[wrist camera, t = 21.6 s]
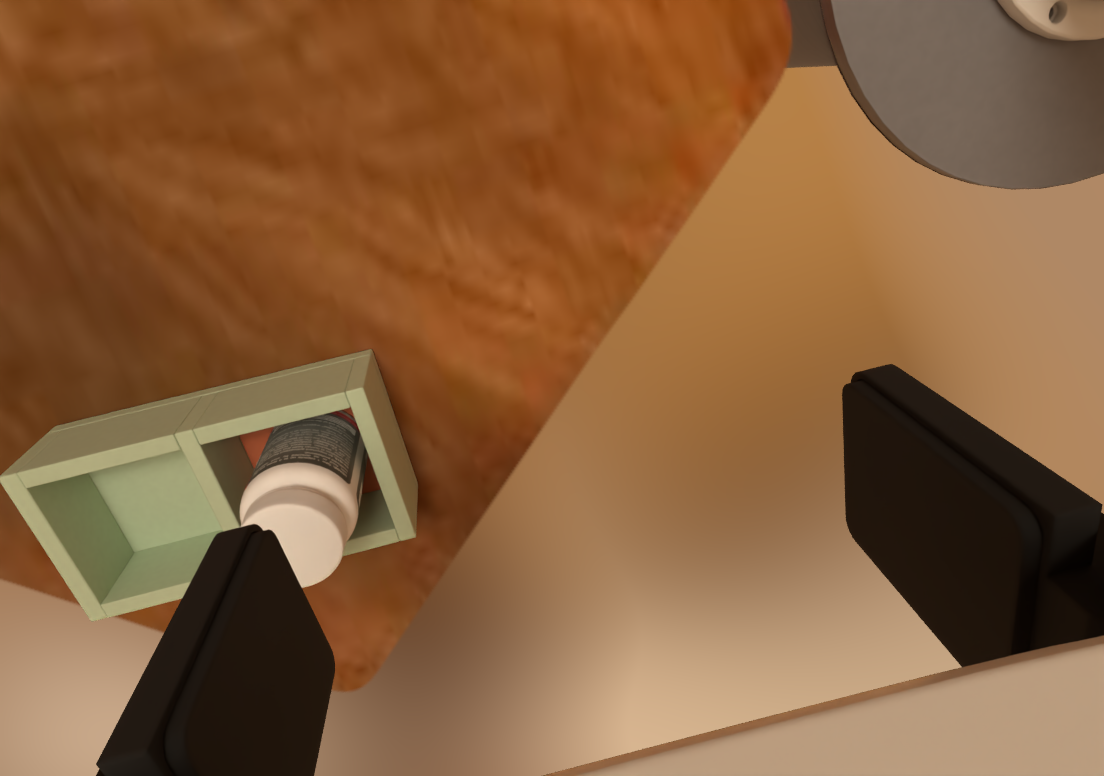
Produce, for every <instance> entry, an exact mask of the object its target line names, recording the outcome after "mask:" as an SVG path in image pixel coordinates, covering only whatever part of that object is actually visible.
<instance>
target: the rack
mask: <svg viewBox="0 0 1104 776" xmlns="http://www.w3.org/2000/svg"><path fill="white" fill-rule="evenodd" d="M339 410H342V411H344V412H346V413H347V414H349V415H350V416H351V417H353V418H354V419H355V420H356V423H357V426H358V428H359V431H360V434H361V437H362V439H363V442H364V445H365V447H366V450H367V453H368V460H367V465H366V470H365V476H364V482H363V488H362V495H361V500H360V506H359V515H358V519H357V523H356V526H355V529H354V531H353V533H352V535H351V536H350V538H349V539H348V540H347V541H346V545H345V547H344V551H343V555H342V556H345V555H349V554H353V553H357V552H361V551H365V550H368V549H372V548H376V547H380V546H384V545H388V544H391V543H395V542H399V540H400V541H403V540H407V539H411V538H415V537H416V525H417V501H418V482H417V479H416V476H415V473H414V470H413V468H412V465H411V462H410V459H409V456H408V453H407V450H406V447H405V444H404V441H403V438H402V435H401V432H400V429H399V426H398V423H397V420H396V417H395V415H394V412H393V409H392V406H391V403H390V400H389V397H388V394H387V391H386V388H385V385H384V382H383V379H382V376H381V373H380V370H379V367H378V364H377V362H376V359H375V356H374V353H373V350H372V349H369V350H365V351H361V352H357V353H353V354H349V355H345V356H341V357H336V358H332V359H328V360H324V361H320V362H316V363H312V364H308V365H304V366H300V367H295V368H291V369H287V370H283V371H279V372H275V373H271V374H267V375H263V376H259V377H255V378H250V379H246V380H242V381H238V382H234V383H230V384H226V385H222V386H218V387H214V388H210V389H205V390H201V391H197V392H193V393H189V394H185V395H181V396H177V397H173V398H169V399H164V400H160V401H156V402H152V403H148V404H144V405H140V406H136V407H132V408H128V409H124V410H119V411H115V412H111V413H107V414H103V415H99V416H95V417H91V418H87V419H83V420H79V421H74V422H70V423H66V424H62V425H58V426H55V427H54V428H53V429H52V430H50V431H49V432H48V434H46V435H45V436H44V437H43V438H41V439H40V440H39V441H38V442H37V443H36V444H35V445H34V446H33V447H31V448H30V449H29V450H28V451H27V452H26V453H25V454H24V455H23V456H21V457H20V458H19V459H18V460H17V461H16V462H15V463H14V464H13V465H11V466H10V467H9V468H8V469H7V470H6V471H5V472H4V473H3V474H2V475H0V482H1V484H2V486H3V487H4V489H5V490H6V492H7V493H8V495H9V496H10V498H11V499H12V501H13V502H14V504H15V505H16V507H17V509H18V510H19V512H20V513H21V515H22V516H23V518H24V519H25V521H26V522H27V524H28V525H29V527H30V528H31V530H32V532H33V533H34V535H35V536H36V538H37V539H38V541H39V542H40V544H41V545H42V547H43V548H44V550H45V551H46V553H47V555H48V556H49V558H50V559H51V561H52V562H53V564H54V565H55V567H56V568H57V570H58V571H59V573H60V574H61V576H62V578H63V579H64V581H65V582H66V584H67V585H68V587H69V588H70V590H71V591H72V593H73V594H74V596H75V597H76V599H77V601H78V602H79V604H80V605H81V607H82V608H83V610H84V611H85V613H86V614H87V616H88V617H89V619H90V620H91V621H97V620H100V619H104V618H107V617H113V616H117V615H120V614H124V613H128V612H132V611H136V610H140V609H143V608H147V607H151V606H155V605H159V604H163V603H166V602H170V601H174V600H178V599H182V598H183V596H184V594H185V592H186V590H187V588H188V586H189V584H190V583H191V581H192V579H193V577H194V575H195V573H196V571H197V569H198V567H199V565H200V563H201V561H202V559H203V557H204V556H205V554H206V552H207V550H208V548H209V546H210V544H211V542H212V540H213V538H214V537H215V536H216V534H217V533H220V532H223V531H227V530H231V529H235V528H239V527H240V526H241V520H240V504H241V499H242V496H243V493H244V491H245V488H246V486H247V484H248V482H249V480H250V478H251V476H252V473H253V471H254V469H255V467H256V464H257V462H258V460H259V458H260V456H261V454H262V451H263V449H264V447H265V445H266V442H267V440H268V438H269V435H270V433H271V431H272V429H273V428H274V427H275V426H279V425H283V424H287V423H291V422H295V421H299V420H303V419H307V418H311V417H315V416H319V415H323V414H327V413H331V412H335V411H339Z"/></svg>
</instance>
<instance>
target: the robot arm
mask: <svg viewBox="0 0 1104 776" xmlns="http://www.w3.org/2000/svg"><path fill="white" fill-rule="evenodd" d="M997 1H998V2H999V4H1000V5H1001V6H1002V7H1003V9H1004V10H1005V11H1006V13H1007V14H1008V15H1009V17H1011V18H1012V19H1013V20H1015V21H1016V22H1017V23H1019V24H1020V25H1021V26H1022V27H1024V28H1025V29H1026V30H1028V31H1030V32H1033V33H1035V34H1038V35H1040V36H1043V37H1045V38H1048V39H1056V40H1064V41H1078V40H1095V39H1100V38H1104V0H997ZM842 400H843V436H844V469H845V471H844V472H845V506H846V522H847V526H848V528H849V531H850V533H851V535H852V537H853V538H854V540H855V541H856V542H857V544H858V545H859V546H860V547H861V548H862V549H863V550H864V552H865V553H866V554H867V555H868V556H869V558H870V559H871V560H872V561H873V562H874V564H875V565H876V566H877V567H878V568H879V570H880V571H881V572H882V573H883V574H884V575H885V577H886V578H887V579H888V580H889V581H890V582H891V584H892V585H893V586H894V587H895V588H896V590H897V591H898V592H899V593H900V594H901V595H902V597H903V598H904V599H905V600H906V601H907V603H908V604H909V605H910V606H911V607H912V608H913V610H914V611H915V612H916V613H917V614H918V616H919V617H920V618H921V619H922V620H923V621H924V623H925V624H926V625H927V626H928V627H929V629H930V630H932V632H933V633H934V634H935V636H936V637H937V638H938V639H939V640H940V641H941V643H942V644H943V645H944V646H945V647H946V648H947V650H948V651H949V652H950V653H951V654H952V656H953V657H954V658H955V659H956V660H957V661H958V662H959V664H960V665H961V666H962V668H958V669H953V670H949V671H945V672H941V673H937V674H933V675H929V676H925V677H921V678H917V679H913V680H909V681H905V682H902V683H897V684H894V685H890V686H886V687H882V688H878V689H874V690H870V691H866V692H862V693H859V694H855V695H851V696H847V697H843V698H839V699H835V700H831V701H827V702H823V703H819V704H816V705H811V706H808V707H804V708H800V709H796V710H792V711H788V712H784V713H781V714H776V715H772V716H769V717H765V718H761V719H757V720H753V721H749V722H745V723H741V724H738V725H734V726H730V727H726V728H722V729H719V730H715V731H711V732H707V733H703V734H699V735H696V736H692V737H688V738H684V739H681V740H676V741H673V742H669V743H665V744H661V745H657V746H654V747H650V748H646V749H642V750H638V751H635V752H631V753H627V754H623V755H619V756H615V757H612V758H608V759H604V760H601V761H597V762H593V763H589V764H585V765H581V766H577V767H574V768H570V769H566V770H562V771H558V772H555V773H551V774H547V775H543V776H1104V514H1103V513H1101V510H1102V504H1101V503H1099V502H1098V501H1096V500H1095V499H1093V498H1092V497H1090V496H1089V495H1087V494H1086V493H1084V492H1083V491H1081V490H1080V489H1078V488H1077V487H1075V486H1074V485H1072V484H1071V483H1069V482H1068V481H1066V480H1065V479H1063V478H1062V477H1060V476H1059V475H1057V474H1056V473H1055V472H1053V471H1052V470H1050V469H1048V468H1047V467H1046V466H1044V465H1042V464H1041V463H1040V462H1038V461H1037V460H1035V459H1034V458H1032V457H1031V456H1029V455H1028V454H1026V453H1024V452H1023V451H1022V450H1020V449H1019V448H1017V447H1016V446H1014V445H1013V444H1011V443H1010V442H1008V441H1007V440H1005V439H1004V438H1002V437H1001V436H999V435H998V434H996V433H995V432H994V431H992V430H990V429H989V428H988V427H986V426H985V425H983V424H981V423H980V422H978V421H977V420H976V419H974V418H973V417H971V416H970V415H968V414H967V413H965V412H964V411H962V410H961V409H959V408H958V407H956V406H955V405H953V404H952V403H950V402H949V401H947V400H946V399H944V398H943V397H941V396H940V395H939V394H937V393H936V392H934V391H933V390H931V389H930V388H928V387H927V386H925V385H924V384H922V383H920V382H919V381H918V380H916V379H915V378H913V377H912V376H910V375H909V374H907V373H906V372H904V371H903V370H901V369H900V368H898V367H896V366H895V365H893V364H889V365H885V366H880V367H876V368H872V369H868V370H865V371H860V372H856V373H855V374H854V375H853V376H852V379H851V383H849V384H846V385H845V386H844V388H843V393H842ZM334 674H335V661H334V656H333V652H332V649H331V647H330V645H329V643H328V641H327V639H326V637H325V635H324V633H323V631H322V629H321V626H320V624H319V622H318V620H317V618H316V616H315V614H314V612H313V610H312V608H311V606H310V604H309V602H308V600H307V598H306V596H305V594H304V592H303V590H302V588H301V586H300V583H299V581H298V579H297V577H296V575H295V573H294V571H293V569H292V567H291V565H290V563H289V561H288V559H287V557H286V555H285V553H284V551H283V549H282V547H281V545H280V542H279V540H278V538H277V536H276V535H275V533H274V532H273V531H272V530H269V529H268V530H264V531H263V529H262V528H261V527H260V526H259V525H257V524H251V525H247V526H243V527H239V528H235V529H231V530H227V531H223V532H220V533H217V534H216V536H215V537H214V538H213V540H212V542H211V544H210V546H209V548H208V550H207V552H206V554H205V556H204V557H203V559H202V561H201V563H200V565H199V567H198V569H197V571H196V573H195V575H194V577H193V579H192V581H191V583H190V584H189V586H188V588H187V590H186V592H185V594H184V596H183V598H182V600H181V602H180V604H179V606H178V608H177V609H176V611H175V613H174V615H173V617H172V619H171V621H170V623H169V625H168V627H167V629H166V631H165V633H164V634H163V636H162V638H161V640H160V642H159V644H158V646H157V648H156V650H155V652H154V654H153V656H152V658H151V660H150V661H149V664H148V665H147V667H146V669H145V671H144V673H143V675H142V677H141V679H140V681H139V683H138V685H137V686H136V688H135V690H134V692H133V694H132V696H131V698H130V700H129V702H128V704H127V706H126V708H125V710H124V712H123V713H122V715H121V717H120V719H119V721H118V723H117V725H116V727H115V729H114V731H113V733H112V735H111V736H110V738H109V740H108V743H107V744H106V746H105V748H104V750H103V752H102V754H101V756H100V758H99V760H98V762H97V763H96V765H97V766H98V767H99V771H98V773H97V775H96V776H314V773H315V768H316V763H317V758H318V753H319V748H320V743H321V738H322V733H323V729H324V723H325V719H326V713H327V709H328V704H329V698H330V694H331V689H332V684H333V679H334Z"/></svg>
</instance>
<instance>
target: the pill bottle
mask: <svg viewBox="0 0 1104 776" xmlns="http://www.w3.org/2000/svg"><path fill="white" fill-rule="evenodd" d="M367 460H368V453H367V450H366V447H365V445H364V442H363V439H362V437H361V434H360V431H359V428H358V426H357V423H356V420H355V419H354V418H353V417H351V416H350V415H349V414H347V413H346V412H344V411H342V410H339V411H335V412H331V413H327V414H323V415H319V416H315V417H311V418H307V419H303V420H299V421H295V422H291V423H287V424H283V425H279V426H275V427H274V428H273V429H272V431H271V433H270V435H269V438H268V440H267V442H266V445H265V447H264V449H263V451H262V454H261V456H260V458H259V460H258V462H257V464H256V467H255V469H254V471H253V473H252V476H251V478H250V480H249V482H248V484H247V486H246V488H245V491H244V493H243V496H242V499H241V504H240V520H241V526H240V527H243V526H247V525H251V524H257V525H259V526H260V527H261V528H262V529H263V531H264V530H268V529H269V530H272V531H273V532H274V533H275V535H276V536H277V538H278V540H279V542H280V545H281V547H282V549H283V551H284V553H285V555H286V557H287V559H288V561H289V563H290V565H291V567H292V569H293V571H294V573H295V575H296V577H297V579H298V581H299V583H300V586H301V588H303V587H308V586H311V585H314V584H316V583H318V582H320V581H322V580H324V579H325V578H327V577H328V576H329V575H331V574H332V572H333V571H334V570H335V569H336V568H337V566H338V565H339V563H340V561H341V558H342V555H343V551H344V547H345V545H346V541H347V540H348V539H349V538H350V536H351V535H352V533H353V531H354V529H355V526H356V523H357V519H358V515H359V506H360V500H361V495H362V488H363V482H364V476H365V470H366V465H367Z"/></svg>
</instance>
